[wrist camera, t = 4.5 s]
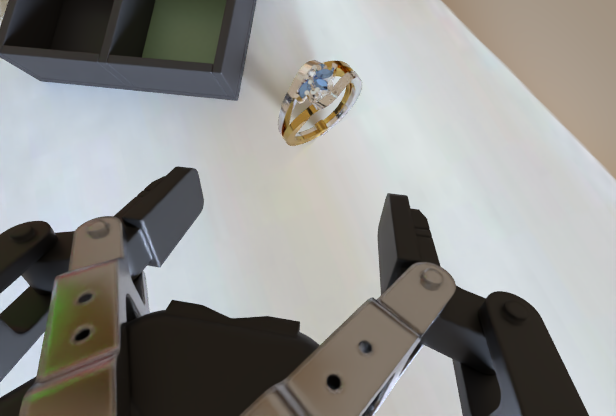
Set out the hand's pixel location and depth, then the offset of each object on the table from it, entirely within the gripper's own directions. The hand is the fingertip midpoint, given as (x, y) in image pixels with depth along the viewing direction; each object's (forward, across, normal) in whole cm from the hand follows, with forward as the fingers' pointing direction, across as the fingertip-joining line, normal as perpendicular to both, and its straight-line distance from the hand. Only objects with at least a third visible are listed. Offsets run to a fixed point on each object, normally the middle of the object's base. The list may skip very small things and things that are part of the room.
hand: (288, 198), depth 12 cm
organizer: (+23, +18, -6) cm, 30 cm away
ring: (+14, 0, +3) cm, 15 cm away
